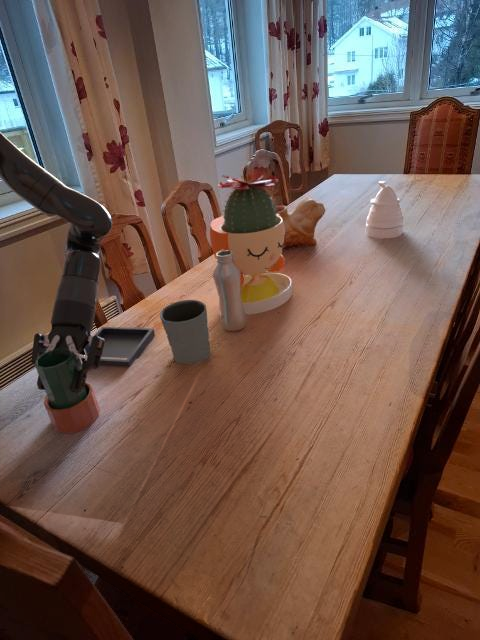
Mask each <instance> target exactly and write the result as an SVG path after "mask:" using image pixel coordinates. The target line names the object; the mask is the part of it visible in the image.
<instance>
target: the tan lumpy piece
mask: <svg viewBox="0 0 480 640" xmlns="http://www.w3.org/2000/svg"><path fill="white" fill-rule="evenodd" d="M275 206H276V207H275V208H277V209H276V211H278V212H276V214H280V216H281V218H282V220H283V224H284V229H285V242H284V246H283V250H282V251H285V250H284V249H286V250H290V249H289V248H291V249H294V248H293V247H296V248H299V247H298V246H301V247H307V246H306V245H308V246H315V245H317V244H316V243H317V240H316V237H315V232H316V227H317V224H318V223H319V222H320V220H321V219H323V217H324V215H325V213H326V208H325V205H324V203H322V202H317V201H316V200H315V199H312V198H311V197H304V198H303V199H302V200H301V201H300V202H298V204H297V206H295V208H294V209H293V210H292V211H291V212H290V211H289V212H288V207H287V206H286V205H275Z"/></svg>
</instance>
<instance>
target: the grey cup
mask: <svg viewBox="0 0 480 640" xmlns="http://www.w3.org/2000/svg"><path fill="white" fill-rule="evenodd" d="M159 317H160V321H161V324H162V326H163V329H164V332H165V335H166V338H167V341H168V344H169V347H171V349H170V350H171V353H172V356H173V359H174V361H176V362H177V363H179V364H183V365H193V364H198V363H204V362H206V361H207V360H208V359H209V358H210V355H211V352H212V351H211V343H210V333H209V327H208V323H209V322H208V311H207V305H206V304H205V303H204V302H203V301H200V300H196V299H184V300H179V301H176V302H172V303H169V304H168V305H167V306H165V307H163V308H162V310H161V311H160V314H159Z"/></svg>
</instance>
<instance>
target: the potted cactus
mask: <svg viewBox="0 0 480 640" xmlns="http://www.w3.org/2000/svg"><path fill="white" fill-rule="evenodd" d="M264 171H265V167H264V166H262V165H261V166H260V167H258V168H256V167H255V168H253V169H251V170H250V171H248V172H246V174H245V175H244V174H242V175H240V177H233V178H232V177H230V176H228V175H221V177H222V178H225V179H227V180H226V182H225V183H224V182H223V181H219V183H218V184H217V186H218V187H219V188H221V189H225V188H226V189H227V188H228V189H229V188H230V189H232V190H229V194H226V196H227V197H226V196H225V197H226V198H227V200H224V202H225V204H223V205H222V207H223V208H224V209H223V208H222V210H221V212H223V215H220V216H219V217H216V218H214V219H212V221H211V222H210V225H209V241H210V245H211V249H212V252H213V255H214V258H215V260H216V261H217V256H216V254H217V253H218V252H220V251H232V255H233V261H232V262H233V263H234V264H235V265H236V266H237V267H238V268H239V270H240V273H241V284H240V289H241V300H242V304H243V309H244V311H245V314H246V315H255V314H261V313H266V312H268V311H272V310H274V309H277V308H278V307H280V306H283V305H284V304H285V303H287V302H288V301H289V300H290V299H291V297H292V295H293V283H292V282H293V281H292V279H291V277H290V276H288V275H287V274H285V273H280V272H279V271H282V270H283V268H284V267H285V265H286V260H285V257H284V256H283V255H282V253H283V251H284V250H283V246H284V242H285V229H284V224H283V220H282V218H281V216H280V214H276V212H278V211H276V209H277V208H275V207H276V206H277V205H276V204H275V202H274V201H275V197H274V198H273V196H272V195H273V194H274V193H271V195H270V190H268V188H269V187H271V188H272V187H274V186H275V185H276V184H277V183H279V179H278V178H277V177H276V176H275V175H272V174H271V175H269V176H267V177H266V178H264V174H263V173H264ZM263 178H264V179H263Z"/></svg>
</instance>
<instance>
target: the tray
mask: <svg viewBox="0 0 480 640" xmlns="http://www.w3.org/2000/svg"><path fill="white" fill-rule="evenodd" d="M93 336H99V337H101V338H103V339H104V340H105V343H104V347H103V351H102V355H101V359H100V363H99V367H101V366H103V367H119V368H130V367H131V366H132V365H133V363H134V362H135V361H136V360H138V359H139V358H140V356H141V355H142V354H143V353H144V351H145V349H146V348H147V347H148V346H149V344H150V343H151V342H152V340H153V339H154V337H155V336H156V333H155V329H154V328H153V327H152V328H151V327H120V326H119V327H117V326H101V327H100V328H99V330H97V332H96V333H95V334H93ZM89 349H90V346H89V344H88V345H87V346H86V348H85V350H86V354H87V356H88V353H89Z"/></svg>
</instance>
